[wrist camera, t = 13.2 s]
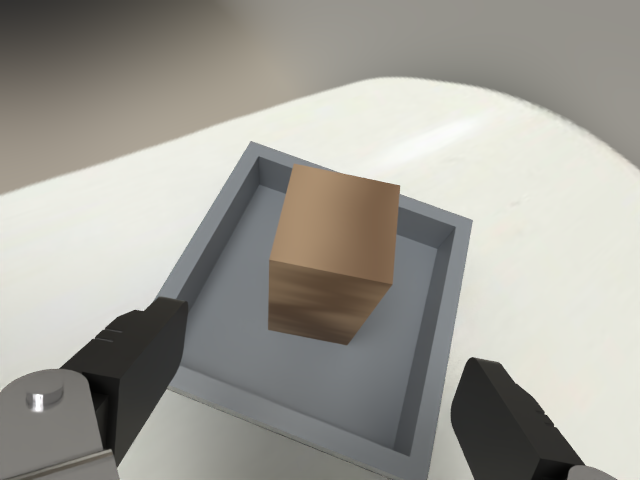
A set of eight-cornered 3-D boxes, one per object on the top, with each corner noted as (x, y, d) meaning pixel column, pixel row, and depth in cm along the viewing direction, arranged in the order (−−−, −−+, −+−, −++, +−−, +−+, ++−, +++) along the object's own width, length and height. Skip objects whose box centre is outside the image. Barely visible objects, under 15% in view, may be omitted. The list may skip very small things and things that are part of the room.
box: (138, 377, 23) (115, 363, 19) (252, 176, 31) (250, 141, 27) (400, 482, 22) (425, 488, 18) (448, 247, 30) (472, 220, 26)
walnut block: (268, 329, 24) (269, 259, 15) (284, 258, 27) (293, 163, 18) (347, 345, 24) (392, 284, 16) (356, 273, 27) (400, 185, 18)
